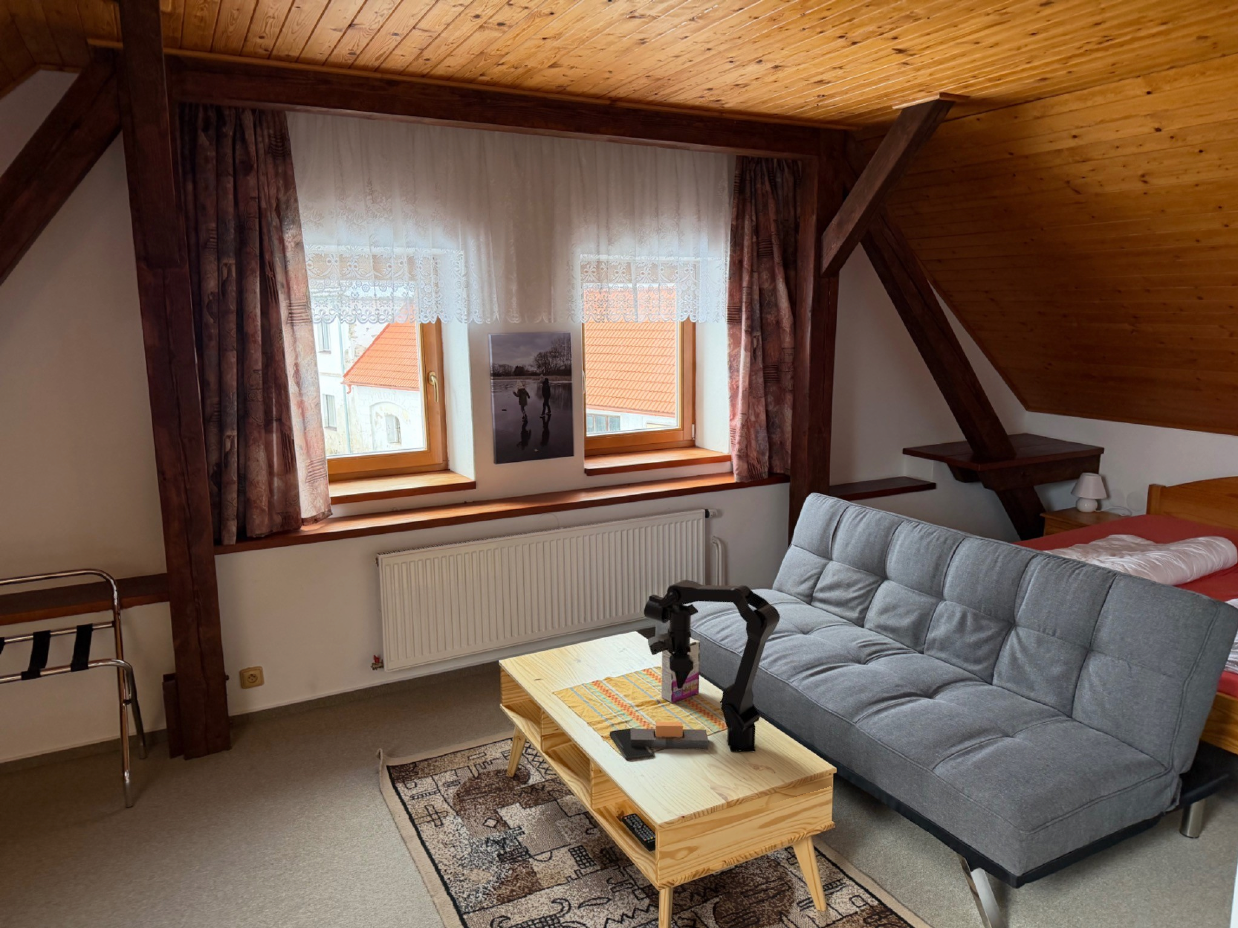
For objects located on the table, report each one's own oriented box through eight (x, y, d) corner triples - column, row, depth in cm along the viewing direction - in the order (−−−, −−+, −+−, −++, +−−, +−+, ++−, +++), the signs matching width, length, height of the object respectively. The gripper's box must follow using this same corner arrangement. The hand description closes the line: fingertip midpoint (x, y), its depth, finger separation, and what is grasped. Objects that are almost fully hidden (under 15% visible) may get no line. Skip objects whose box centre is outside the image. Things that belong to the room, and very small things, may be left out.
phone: (636, 727, 241) (655, 753, 227) (636, 731, 242) (655, 758, 227) (608, 731, 239) (625, 758, 225) (608, 735, 239) (625, 762, 225)
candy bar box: (687, 687, 268) (689, 636, 266) (699, 693, 265) (701, 641, 262) (659, 697, 261) (661, 644, 259) (671, 703, 258) (673, 649, 255)
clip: (681, 741, 236) (682, 721, 235) (682, 745, 233) (682, 725, 232) (654, 740, 236) (655, 721, 235) (655, 745, 233) (655, 725, 232)
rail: (705, 738, 238) (705, 729, 237) (708, 749, 232) (708, 740, 231) (630, 737, 237) (630, 728, 237) (630, 748, 231) (630, 739, 231)
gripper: (648, 614, 251) (647, 667, 253) (651, 639, 232) (650, 695, 235) (688, 615, 251) (686, 667, 253) (694, 639, 232) (692, 696, 235)
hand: (678, 681), depth 244 cm, fingers open, 9 cm apart
